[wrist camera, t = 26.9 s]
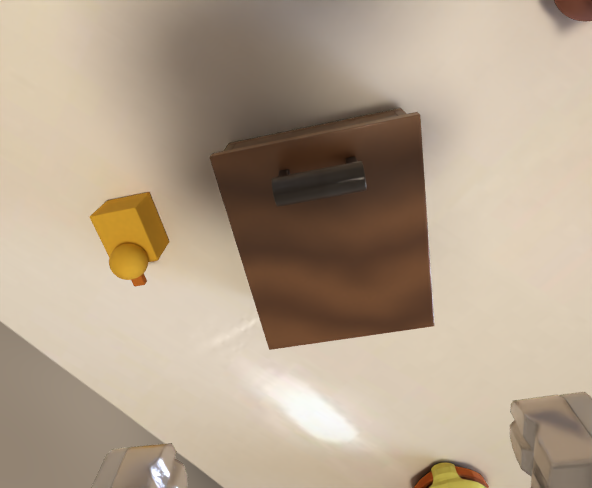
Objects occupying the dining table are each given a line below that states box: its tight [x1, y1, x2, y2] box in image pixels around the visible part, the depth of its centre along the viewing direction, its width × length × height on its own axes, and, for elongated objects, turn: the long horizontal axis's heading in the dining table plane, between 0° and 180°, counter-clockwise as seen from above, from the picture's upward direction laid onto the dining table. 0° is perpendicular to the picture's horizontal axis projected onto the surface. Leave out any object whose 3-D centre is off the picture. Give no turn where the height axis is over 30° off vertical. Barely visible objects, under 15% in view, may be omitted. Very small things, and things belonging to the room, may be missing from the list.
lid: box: [210, 112, 434, 350], centre depth 30 cm, size 17×14×5 cm
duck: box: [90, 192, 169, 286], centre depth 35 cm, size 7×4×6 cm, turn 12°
